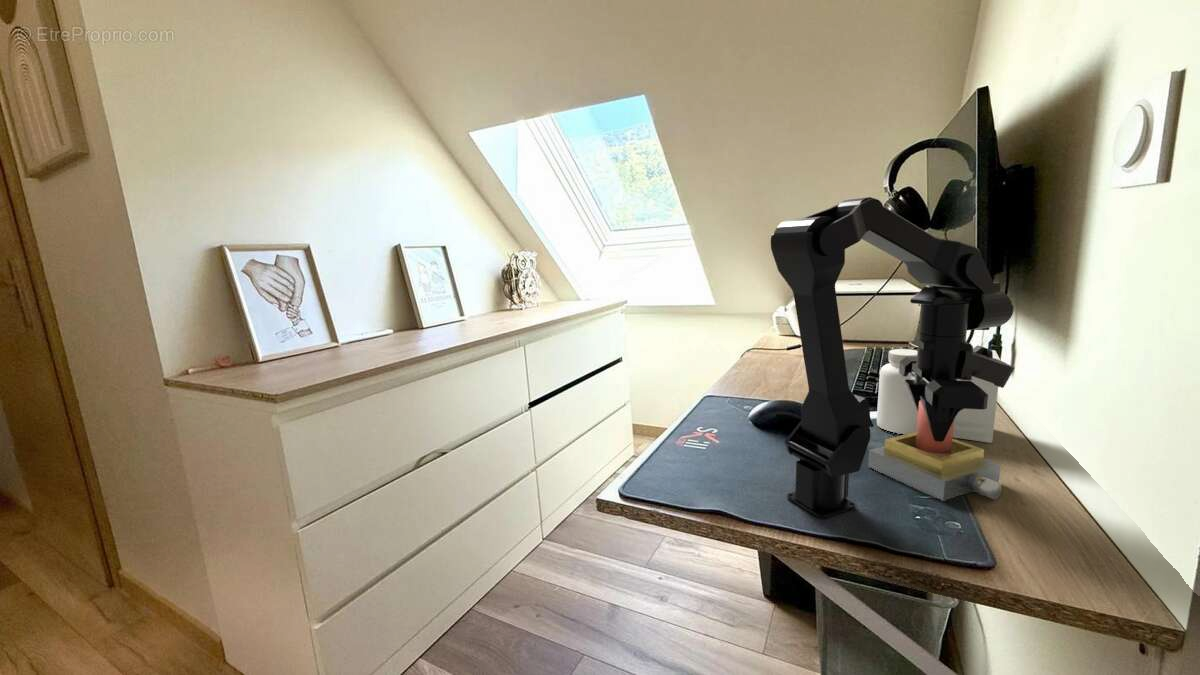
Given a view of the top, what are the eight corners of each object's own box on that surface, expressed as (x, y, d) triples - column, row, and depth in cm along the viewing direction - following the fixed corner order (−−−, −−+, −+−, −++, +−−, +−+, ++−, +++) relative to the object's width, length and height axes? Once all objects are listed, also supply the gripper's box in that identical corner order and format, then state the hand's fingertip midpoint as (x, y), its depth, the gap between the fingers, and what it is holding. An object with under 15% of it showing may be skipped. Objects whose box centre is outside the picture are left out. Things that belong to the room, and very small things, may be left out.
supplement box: (993, 444, 86) (1002, 360, 83) (931, 435, 91) (938, 355, 88) (989, 427, 93) (997, 349, 91) (932, 420, 98) (938, 345, 96)
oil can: (937, 456, 73) (942, 407, 71) (908, 445, 77) (912, 399, 75) (958, 450, 74) (962, 402, 73) (928, 440, 78) (932, 394, 77)
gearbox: (965, 512, 66) (969, 477, 65) (867, 467, 80) (869, 438, 79) (1022, 491, 70) (1026, 458, 69) (920, 452, 84) (922, 424, 83)
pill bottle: (883, 435, 92) (888, 356, 89) (871, 420, 100) (875, 347, 97) (932, 437, 90) (938, 356, 87) (915, 422, 98) (921, 347, 95)
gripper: (1043, 348, 61) (1029, 466, 64) (982, 323, 79) (972, 417, 81) (938, 346, 65) (928, 458, 68) (901, 322, 82) (895, 413, 85)
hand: (933, 435), depth 75 cm, fingers closed on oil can, 4 cm apart
